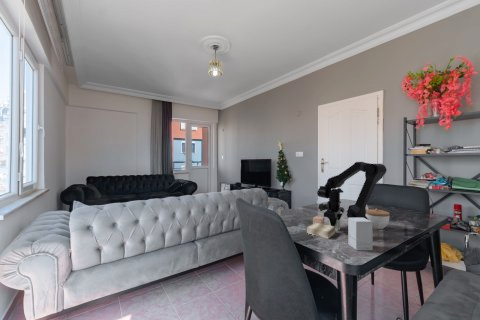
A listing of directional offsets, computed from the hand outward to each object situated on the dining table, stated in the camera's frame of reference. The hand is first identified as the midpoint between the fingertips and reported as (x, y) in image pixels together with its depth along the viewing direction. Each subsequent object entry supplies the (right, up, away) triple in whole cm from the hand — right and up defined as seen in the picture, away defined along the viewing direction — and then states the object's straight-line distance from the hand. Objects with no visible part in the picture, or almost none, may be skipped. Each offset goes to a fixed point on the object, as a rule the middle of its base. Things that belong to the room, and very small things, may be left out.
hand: (334, 227), depth 125 cm
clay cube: (-7, -1, +6) cm, 9 cm away
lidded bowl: (+26, -1, +3) cm, 26 cm away
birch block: (-11, -2, -8) cm, 13 cm away
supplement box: (0, -1, -26) cm, 26 cm away
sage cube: (0, -1, 0) cm, 1 cm away
